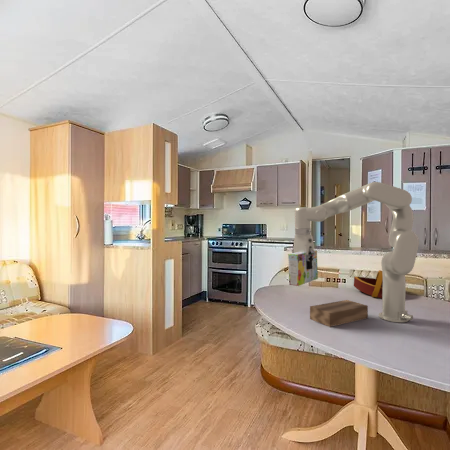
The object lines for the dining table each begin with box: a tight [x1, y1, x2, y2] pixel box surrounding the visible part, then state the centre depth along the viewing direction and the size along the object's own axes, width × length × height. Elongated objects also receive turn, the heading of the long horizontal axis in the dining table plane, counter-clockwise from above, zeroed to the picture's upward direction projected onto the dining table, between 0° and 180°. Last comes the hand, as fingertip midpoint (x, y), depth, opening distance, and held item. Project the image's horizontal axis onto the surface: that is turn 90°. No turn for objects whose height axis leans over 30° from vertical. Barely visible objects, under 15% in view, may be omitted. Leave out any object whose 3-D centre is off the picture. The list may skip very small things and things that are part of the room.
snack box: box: [287, 249, 319, 287], centre depth 153 cm, size 21×6×15 cm, turn 139°
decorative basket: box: [353, 269, 383, 299], centre depth 197 cm, size 34×29×15 cm
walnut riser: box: [309, 299, 369, 328], centre depth 146 cm, size 12×25×6 cm, turn 118°
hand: (303, 267), depth 153 cm, fingers closed on snack box, 7 cm apart
